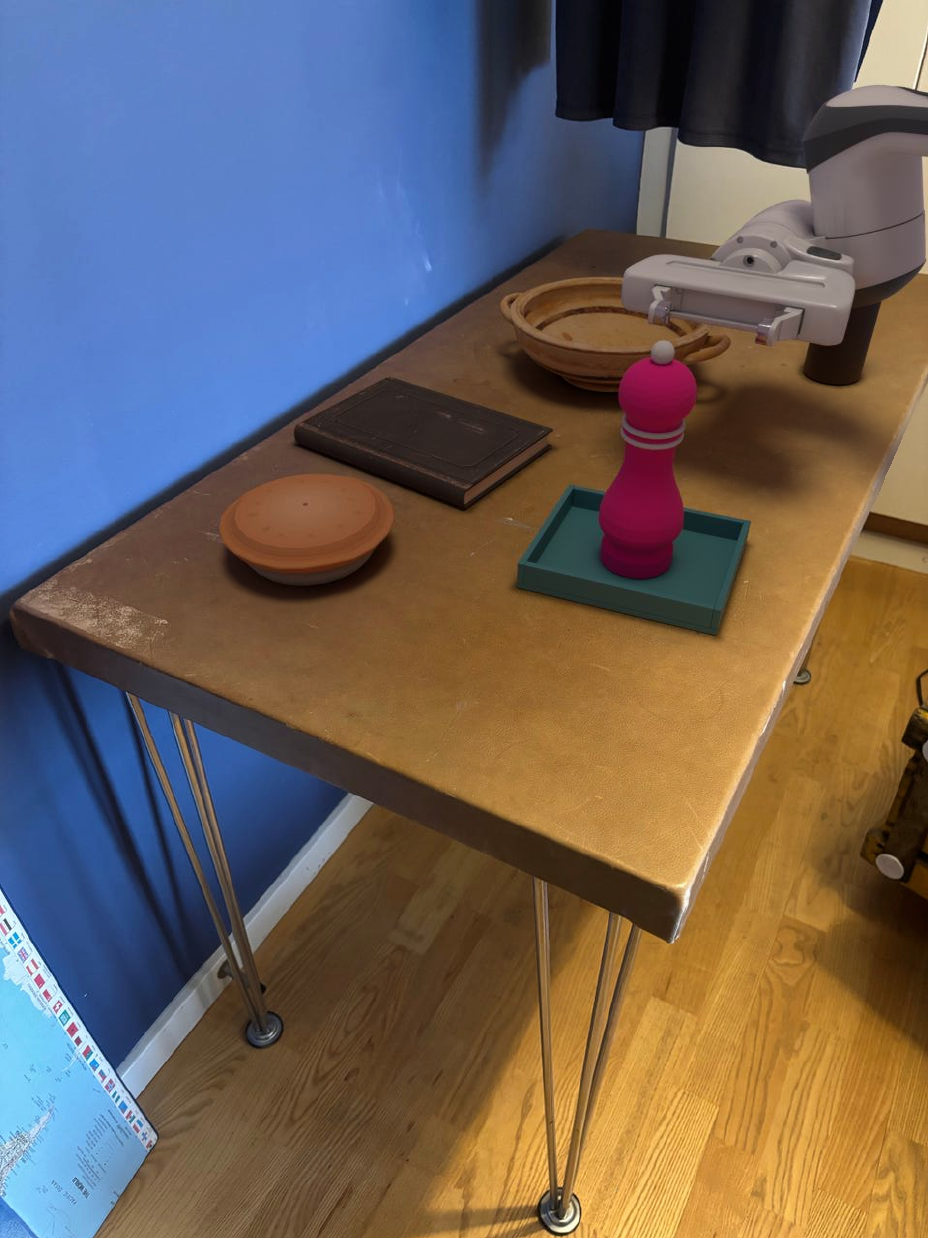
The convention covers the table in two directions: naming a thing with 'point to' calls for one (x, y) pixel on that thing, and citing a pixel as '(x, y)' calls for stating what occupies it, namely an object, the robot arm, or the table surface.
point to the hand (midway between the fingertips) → (709, 326)
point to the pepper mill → (647, 467)
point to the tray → (676, 597)
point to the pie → (307, 527)
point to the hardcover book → (425, 439)
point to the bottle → (844, 350)
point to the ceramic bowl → (597, 332)
